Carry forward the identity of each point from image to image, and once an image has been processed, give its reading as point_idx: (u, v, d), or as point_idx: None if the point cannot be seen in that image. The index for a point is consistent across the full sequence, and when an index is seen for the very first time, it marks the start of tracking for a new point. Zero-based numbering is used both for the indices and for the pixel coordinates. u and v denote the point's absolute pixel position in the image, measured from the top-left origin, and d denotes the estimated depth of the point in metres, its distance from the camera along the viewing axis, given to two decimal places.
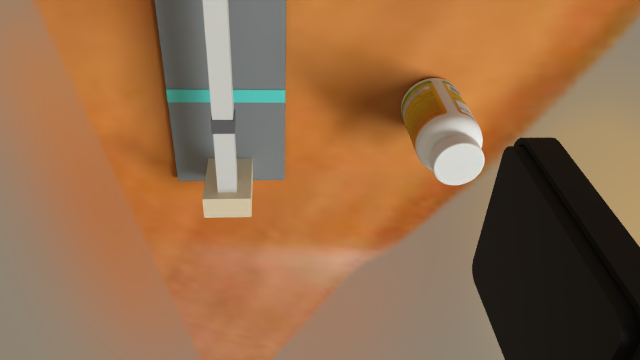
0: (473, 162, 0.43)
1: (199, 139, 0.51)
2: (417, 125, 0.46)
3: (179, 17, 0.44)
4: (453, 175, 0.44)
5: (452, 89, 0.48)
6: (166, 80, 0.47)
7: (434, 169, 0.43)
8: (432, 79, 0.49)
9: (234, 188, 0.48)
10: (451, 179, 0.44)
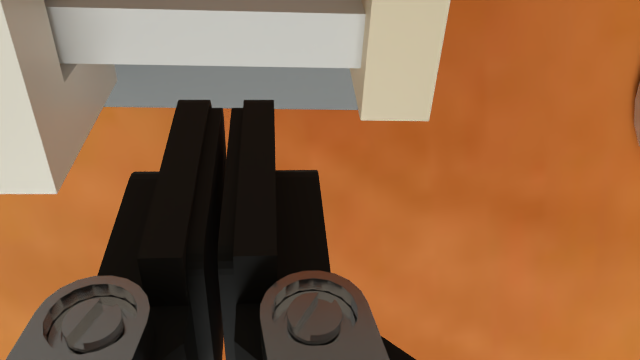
0: None
1: None
2: None
3: None
4: None
5: None
6: None
7: None
8: None
9: None
10: None
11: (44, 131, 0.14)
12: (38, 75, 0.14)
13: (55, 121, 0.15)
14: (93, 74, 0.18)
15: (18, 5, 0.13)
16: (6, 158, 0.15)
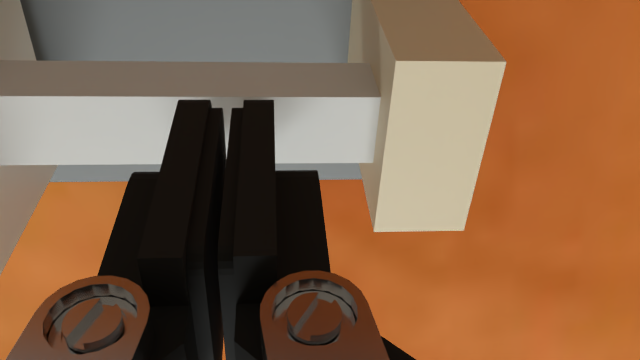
0: None
1: None
2: None
3: None
4: None
5: None
6: None
7: None
8: None
9: None
10: None
11: None
12: None
13: None
14: None
15: None
16: None
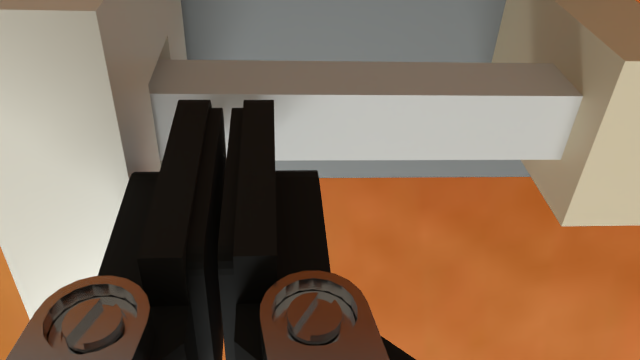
0: None
1: None
2: None
3: None
4: None
5: None
6: None
7: None
8: None
9: None
10: None
11: None
12: None
13: None
14: None
15: (130, 109, 0.09)
16: None
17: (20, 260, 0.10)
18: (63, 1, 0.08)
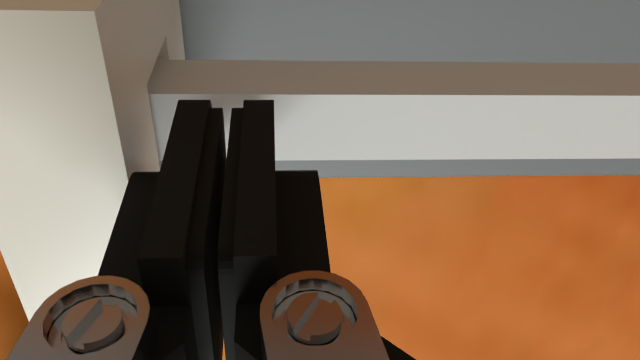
0: None
1: None
2: None
3: None
4: None
5: None
6: None
7: None
8: None
9: None
10: None
11: None
12: None
13: None
14: None
15: (129, 110, 0.09)
16: None
17: (20, 261, 0.10)
18: (61, 1, 0.08)
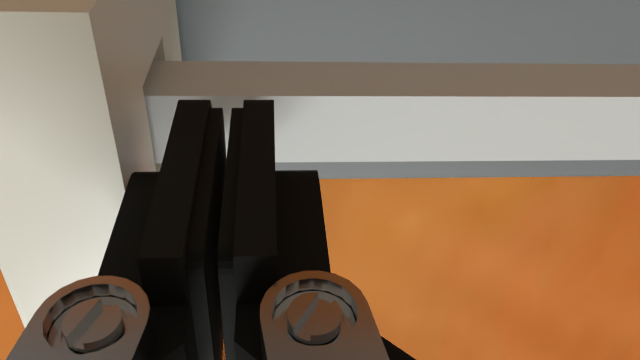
0: None
1: None
2: None
3: None
4: None
5: None
6: None
7: None
8: None
9: None
10: None
11: None
12: None
13: None
14: None
15: (124, 112, 0.09)
16: None
17: (14, 265, 0.10)
18: (55, 2, 0.08)
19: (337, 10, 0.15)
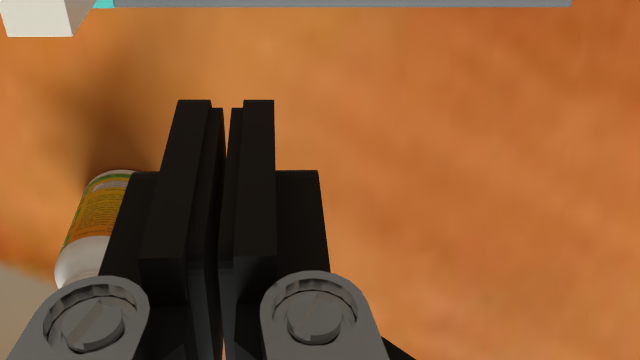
0: None
1: None
2: None
3: None
4: None
5: None
6: None
7: None
8: None
9: None
10: None
11: None
12: None
13: None
14: None
15: None
16: (37, 7, 0.21)
17: None
18: None
19: None
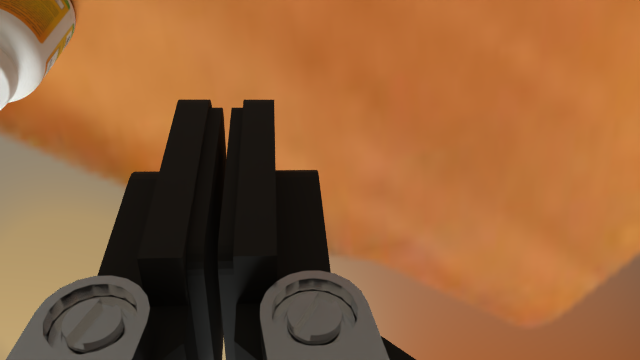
0: None
1: None
2: (3, 1, 0.29)
3: None
4: None
5: (67, 40, 0.34)
6: None
7: None
8: (72, 9, 0.35)
9: None
10: None
11: None
12: None
13: None
14: None
15: None
16: None
17: None
18: None
19: None
